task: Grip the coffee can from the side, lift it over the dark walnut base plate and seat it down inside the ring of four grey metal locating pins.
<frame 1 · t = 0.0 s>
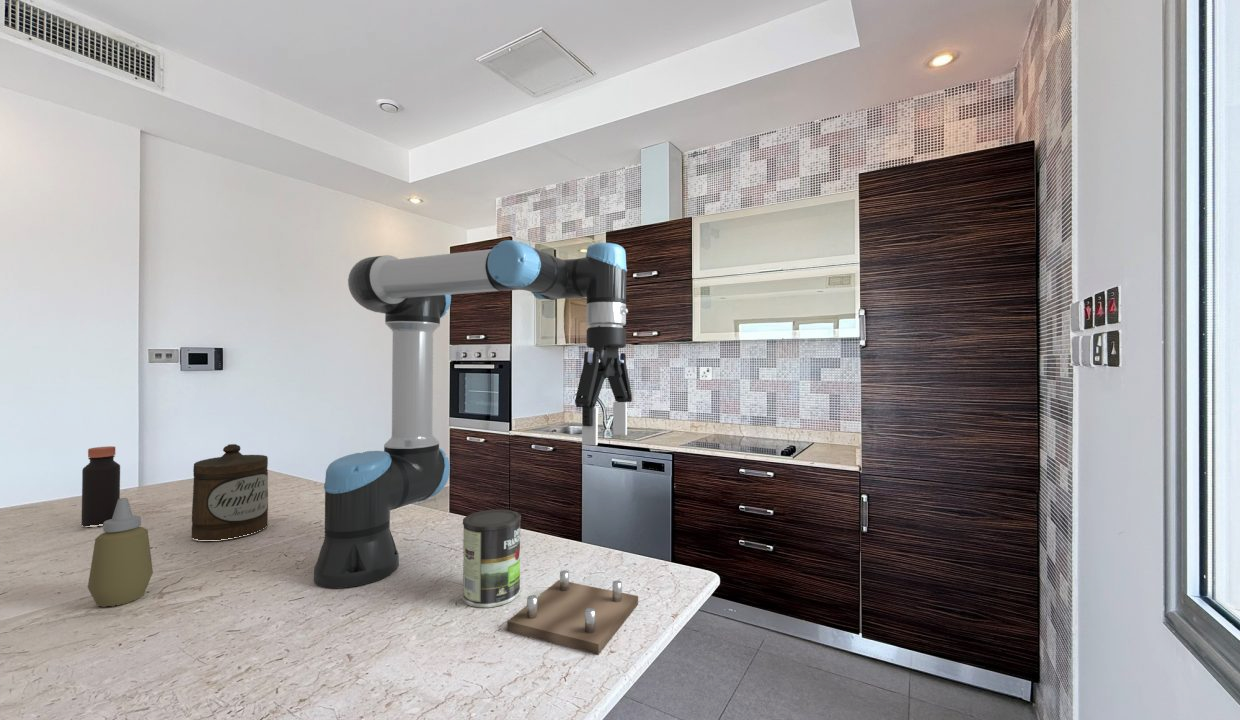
hand: (605, 439, 91), 28 cm above the countertop, tool pointing down, fingers open, 13 cm apart
vinegar: (100, 524, 127), on the countertop
pin nest: (576, 616, 80), on the countertop
coffee can: (491, 595, 88), on the countertop
squeeze bottle: (121, 601, 86), on the countertop
wooden container: (231, 532, 121), on the countertop
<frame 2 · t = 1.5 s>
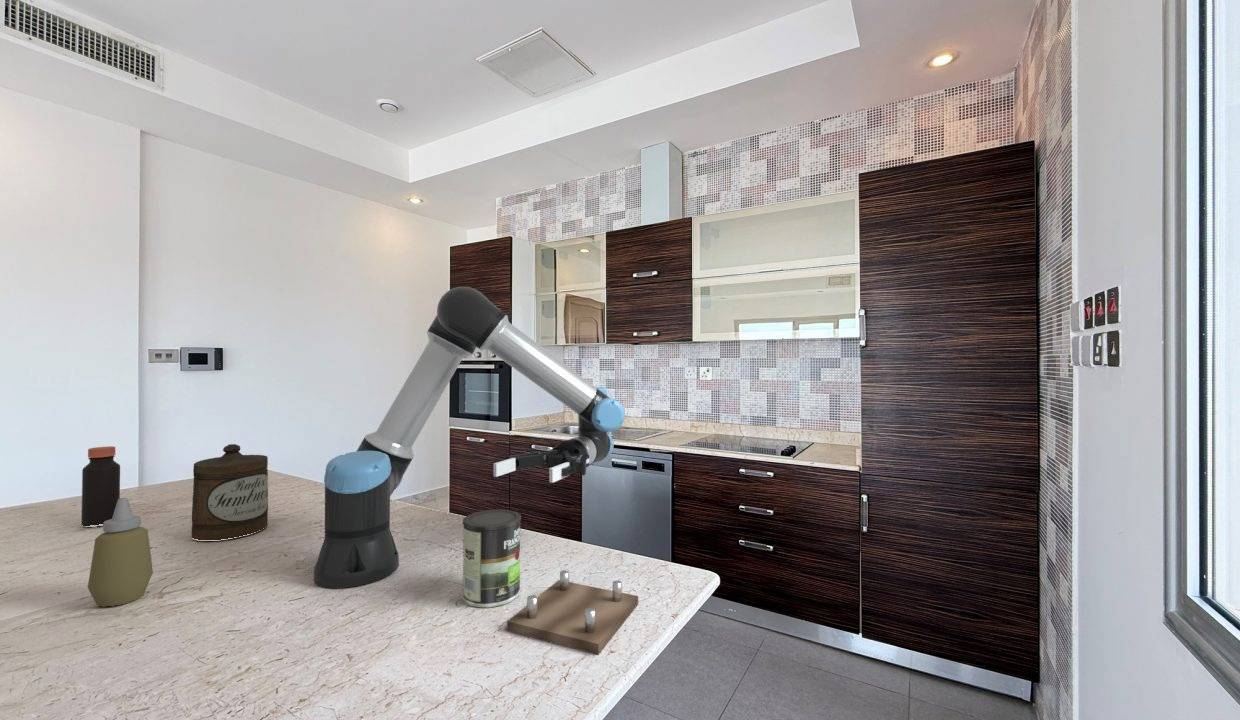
hand: (522, 472, 97), 20 cm above the countertop, tool horizontal, fingers open, 13 cm apart
nothing on the countertop moved.
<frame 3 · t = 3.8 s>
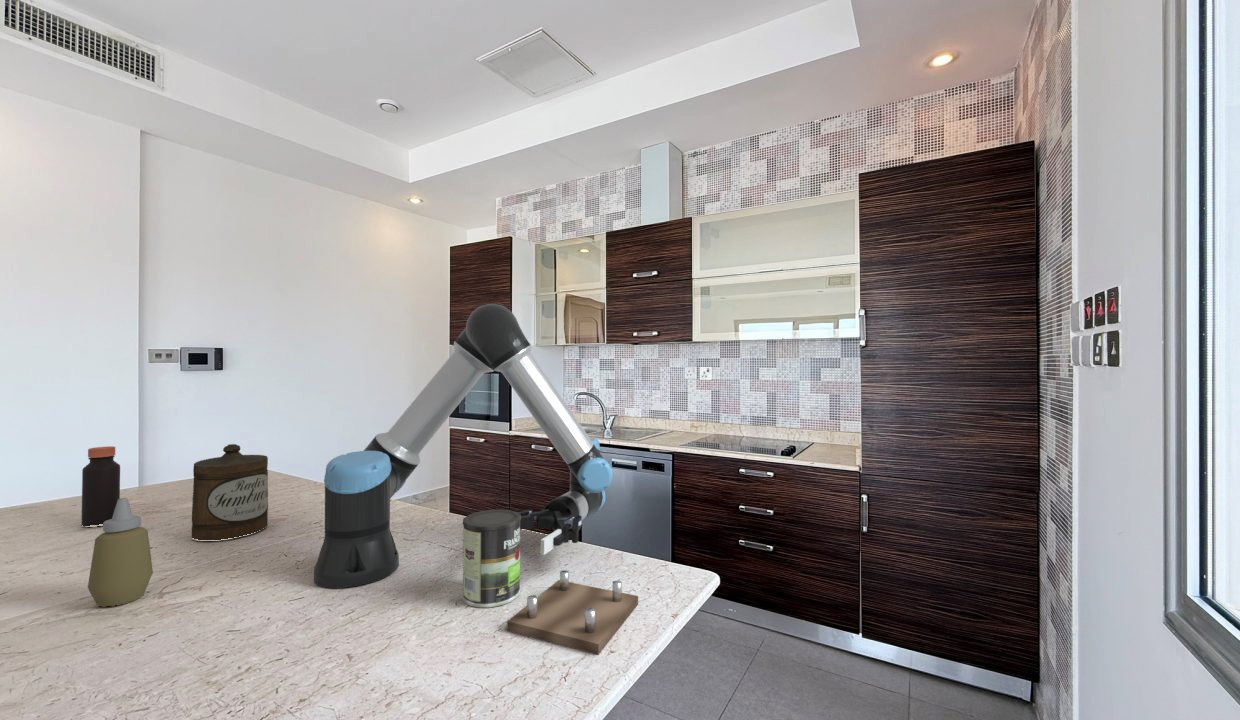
hand: (511, 542, 93), 8 cm above the countertop, tool horizontal, fingers open, 13 cm apart
nothing on the countertop moved.
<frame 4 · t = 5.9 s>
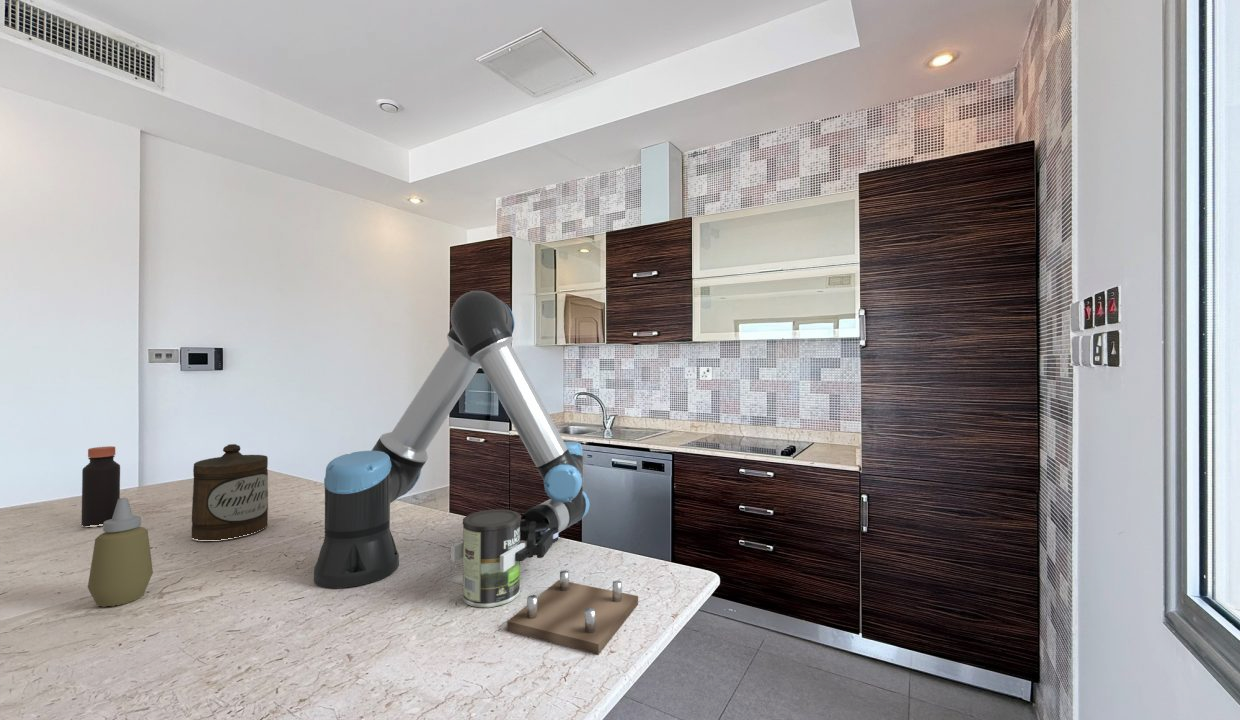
hand: (476, 558, 85), 8 cm above the countertop, tool horizontal, fingers closed on coffee can, 10 cm apart
coffee can: (491, 595, 88), on the countertop, touching gripper
everything else where it was.
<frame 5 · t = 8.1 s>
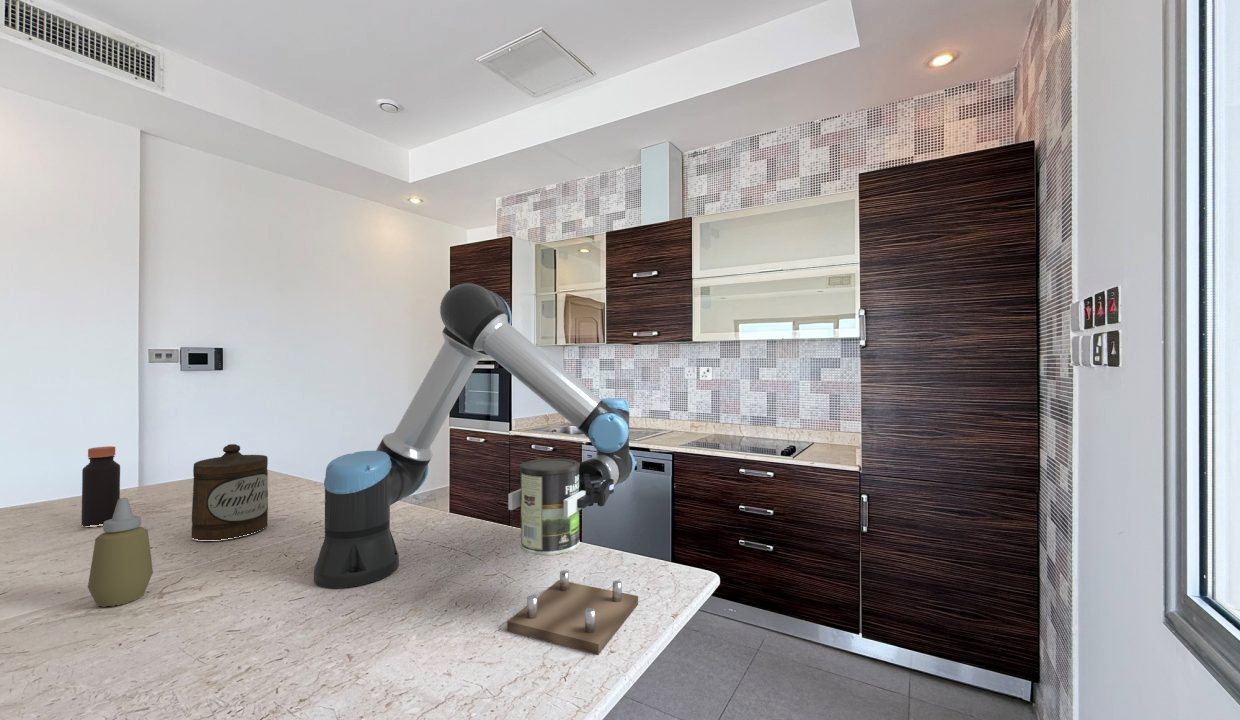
hand: (537, 505, 80), 19 cm above the countertop, tool horizontal, fingers closed on coffee can, 10 cm apart
coffee can: (550, 545, 84), point 10 cm above the countertop, touching gripper
everything else where it was.
when the fingers open (11 cm above the countertop, at t = 10.7 s): coffee can drops 1 cm, resting on pin nest.
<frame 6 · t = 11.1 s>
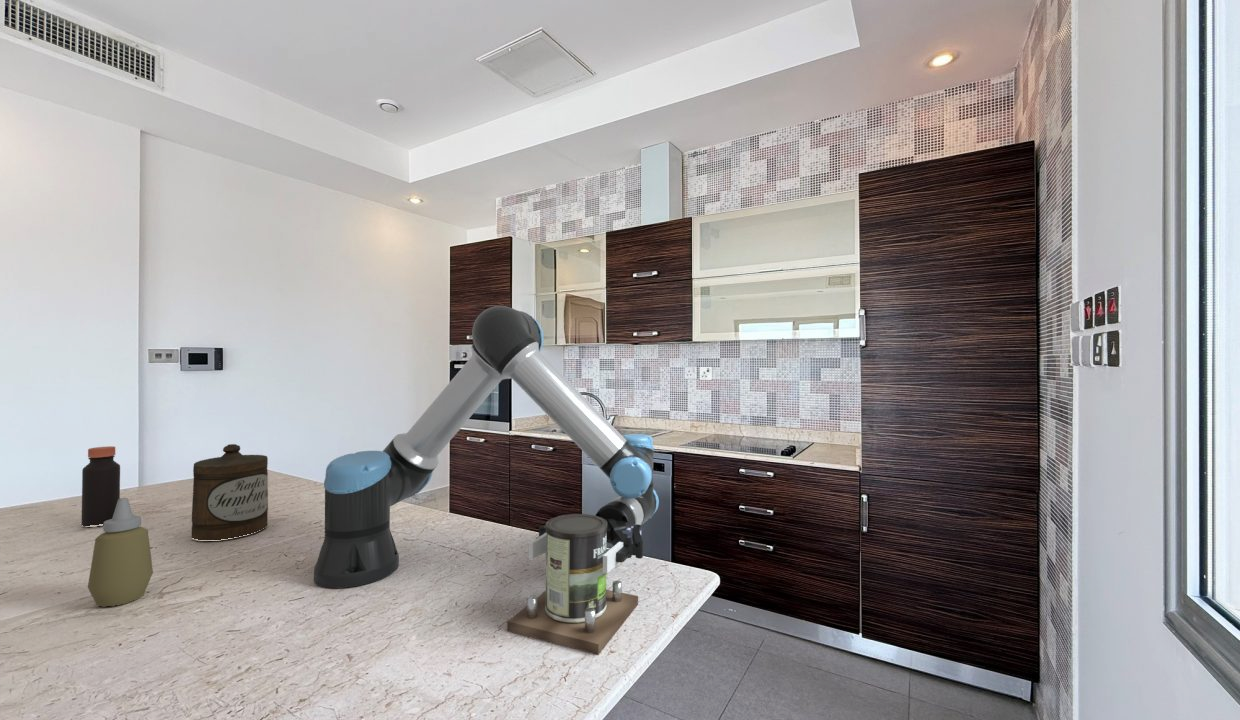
hand: (566, 557, 78), 11 cm above the countertop, tool horizontal, fingers open, 13 cm apart
coffee can: (575, 608, 81), point 1 cm above the countertop, touching pin nest
everything else where it was.
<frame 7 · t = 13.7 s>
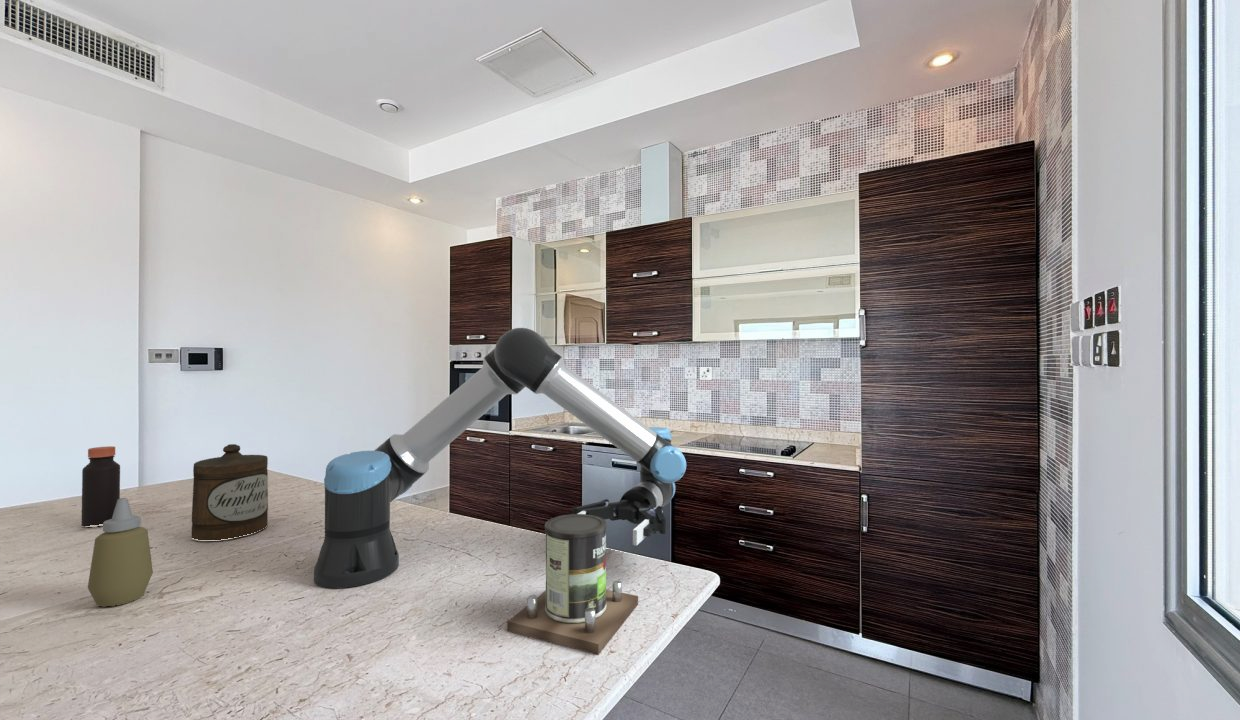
hand: (600, 532, 89), 11 cm above the countertop, tool horizontal, fingers open, 13 cm apart
nothing on the countertop moved.
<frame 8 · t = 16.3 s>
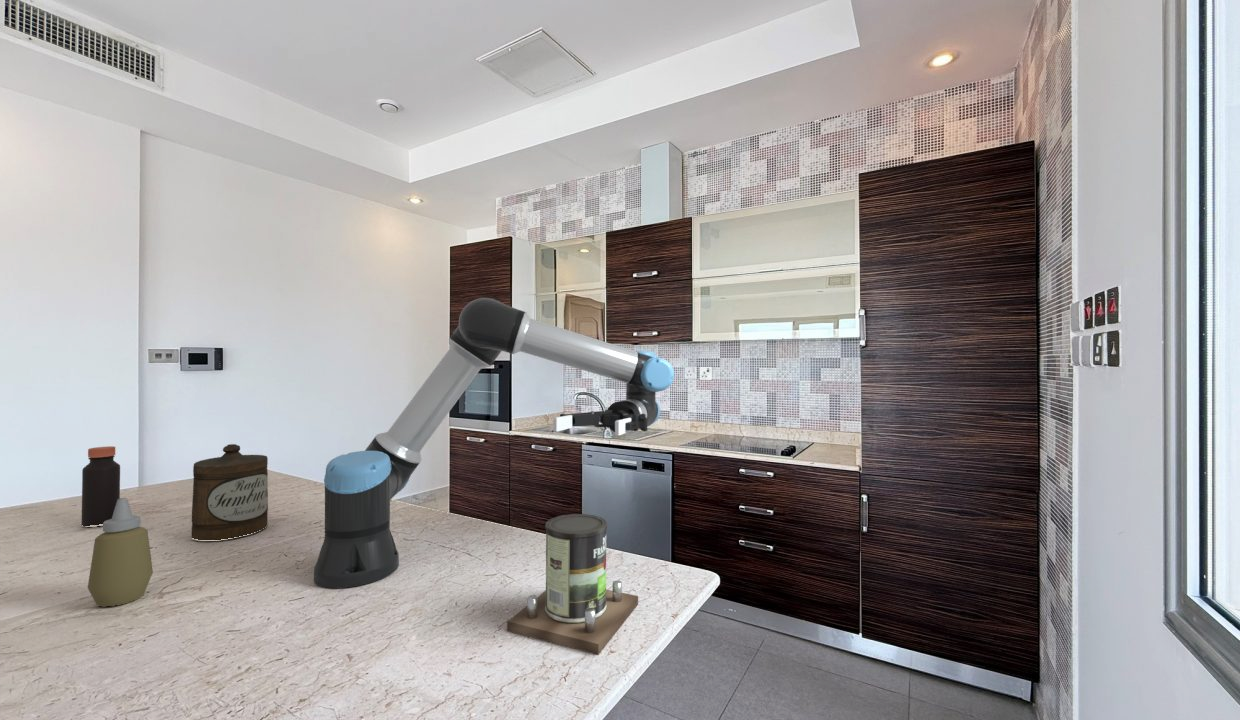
hand: (584, 426, 95), 30 cm above the countertop, tool horizontal, fingers open, 13 cm apart
nothing on the countertop moved.
at the end: coffee can 0.1 cm off-centre on the pin nest, point 1.3 cm above the pin nest's base; coffee can tilted 0°; the gripper is holding nothing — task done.
